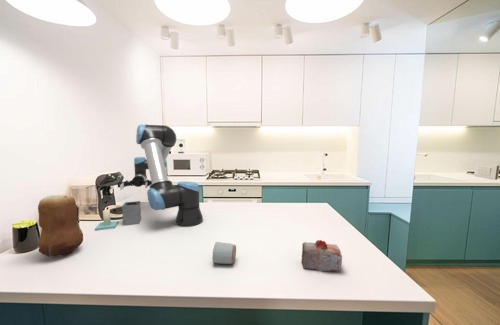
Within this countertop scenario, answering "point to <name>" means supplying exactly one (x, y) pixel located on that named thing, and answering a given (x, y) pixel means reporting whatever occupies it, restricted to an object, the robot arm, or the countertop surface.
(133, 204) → the gray box
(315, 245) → the food item
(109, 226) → the shaft post
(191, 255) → the countertop surface
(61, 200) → the butternut squash
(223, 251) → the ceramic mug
